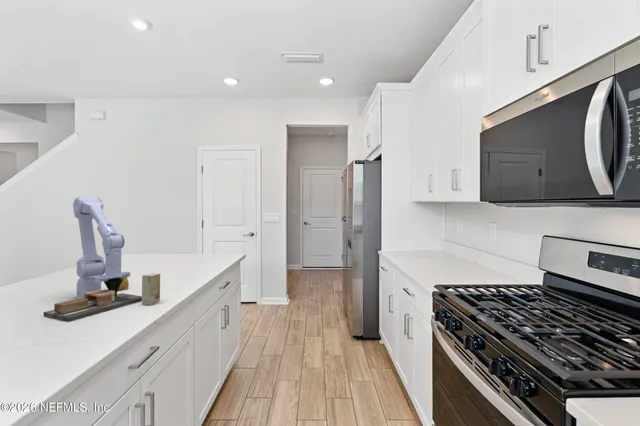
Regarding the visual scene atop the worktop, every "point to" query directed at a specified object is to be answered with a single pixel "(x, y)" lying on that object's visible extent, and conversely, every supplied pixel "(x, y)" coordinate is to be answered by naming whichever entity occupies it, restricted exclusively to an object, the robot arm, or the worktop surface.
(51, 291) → the worktop surface
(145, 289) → the skincare box
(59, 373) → the worktop surface
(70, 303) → the tan wooden brick
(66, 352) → the worktop surface
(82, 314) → the plate
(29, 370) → the worktop surface
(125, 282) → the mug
